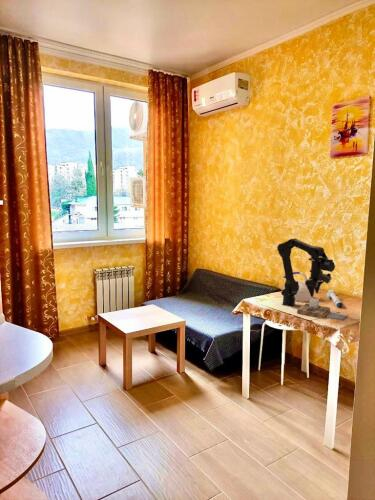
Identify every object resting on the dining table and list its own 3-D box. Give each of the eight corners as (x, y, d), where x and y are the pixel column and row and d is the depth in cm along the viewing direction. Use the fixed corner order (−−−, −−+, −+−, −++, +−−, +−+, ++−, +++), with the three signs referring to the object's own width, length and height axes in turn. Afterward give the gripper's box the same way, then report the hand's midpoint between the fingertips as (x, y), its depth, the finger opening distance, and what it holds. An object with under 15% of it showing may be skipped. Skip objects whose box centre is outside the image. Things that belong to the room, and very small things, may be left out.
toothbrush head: (335, 302, 221) (326, 287, 245) (334, 311, 223) (325, 296, 247) (344, 302, 220) (334, 287, 244) (343, 312, 222) (333, 296, 246)
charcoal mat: (326, 317, 203) (326, 316, 203) (330, 313, 210) (330, 312, 210) (342, 320, 197) (342, 319, 197) (346, 316, 205) (346, 315, 204)
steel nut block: (308, 312, 211) (309, 299, 210) (311, 311, 214) (311, 298, 213) (315, 314, 208) (316, 300, 207) (318, 312, 212) (319, 299, 211)
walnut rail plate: (297, 313, 209) (297, 309, 209) (306, 307, 222) (306, 303, 221) (321, 318, 201) (321, 314, 200) (329, 311, 213) (329, 307, 213)
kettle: (316, 302, 233) (317, 275, 230) (283, 300, 236) (284, 274, 234) (310, 294, 253) (312, 269, 250) (280, 293, 256) (281, 268, 253)
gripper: (325, 273, 196) (323, 300, 198) (335, 268, 210) (333, 293, 213) (305, 270, 202) (303, 297, 204) (315, 265, 217) (314, 290, 219)
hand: (314, 294), depth 210 cm, fingers open, 9 cm apart
